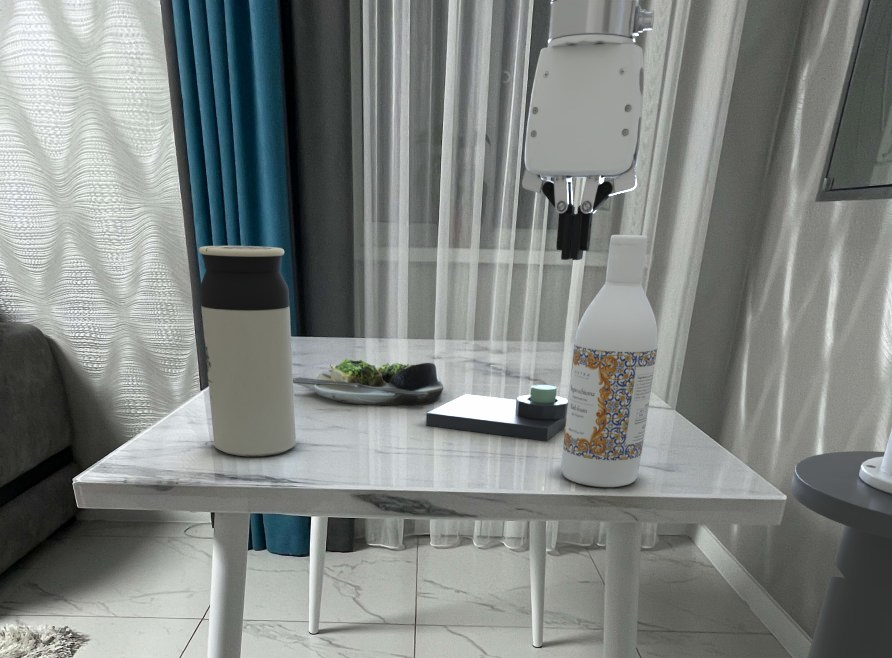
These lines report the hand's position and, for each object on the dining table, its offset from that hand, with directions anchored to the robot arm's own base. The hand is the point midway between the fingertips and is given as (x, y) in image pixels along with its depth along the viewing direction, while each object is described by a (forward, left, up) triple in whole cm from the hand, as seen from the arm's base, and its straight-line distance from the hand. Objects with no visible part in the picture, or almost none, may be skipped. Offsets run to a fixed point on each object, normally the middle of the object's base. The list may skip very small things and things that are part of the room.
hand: (571, 258), depth 79 cm
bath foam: (-8, +13, -18) cm, 23 cm away
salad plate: (+26, -11, -18) cm, 33 cm away
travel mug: (+25, +19, -18) cm, 36 cm away
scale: (+7, -4, -18) cm, 19 cm away
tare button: (+3, -4, -15) cm, 16 cm away
